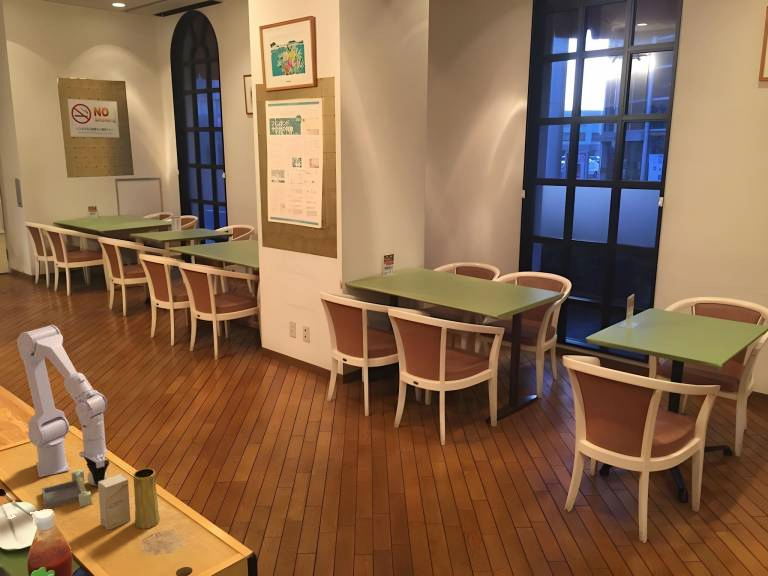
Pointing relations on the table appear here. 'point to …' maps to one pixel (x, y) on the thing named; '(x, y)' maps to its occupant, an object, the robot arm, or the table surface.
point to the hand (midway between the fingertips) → (97, 479)
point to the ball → (90, 479)
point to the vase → (145, 499)
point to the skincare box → (114, 501)
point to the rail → (81, 488)
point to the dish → (61, 494)
